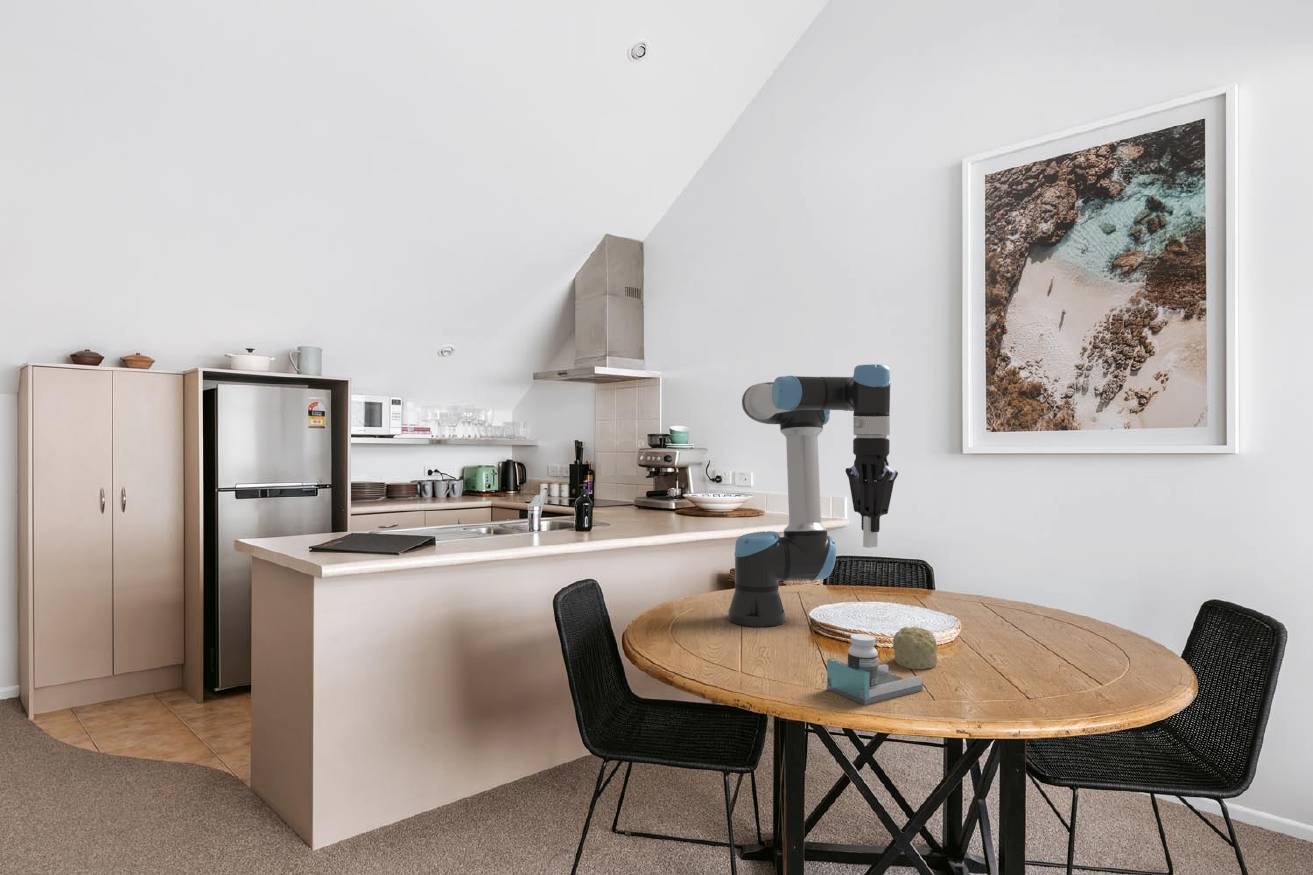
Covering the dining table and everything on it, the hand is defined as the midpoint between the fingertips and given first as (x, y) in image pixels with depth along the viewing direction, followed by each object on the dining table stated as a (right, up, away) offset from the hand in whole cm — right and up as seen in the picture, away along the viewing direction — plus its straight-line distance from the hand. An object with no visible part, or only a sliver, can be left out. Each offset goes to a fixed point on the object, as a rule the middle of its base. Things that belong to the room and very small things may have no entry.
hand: (870, 546), depth 164 cm
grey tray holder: (-3, -27, -13) cm, 30 cm away
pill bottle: (-5, -26, -14) cm, 30 cm away
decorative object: (+11, -27, +5) cm, 29 cm away
